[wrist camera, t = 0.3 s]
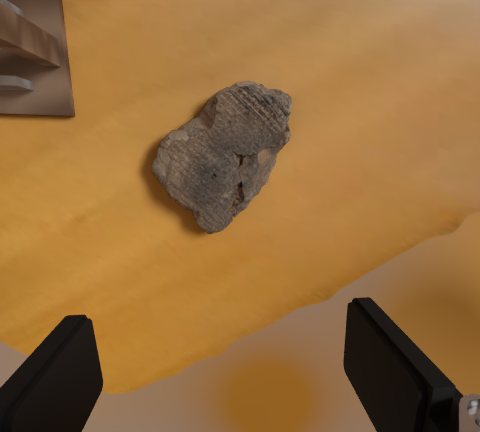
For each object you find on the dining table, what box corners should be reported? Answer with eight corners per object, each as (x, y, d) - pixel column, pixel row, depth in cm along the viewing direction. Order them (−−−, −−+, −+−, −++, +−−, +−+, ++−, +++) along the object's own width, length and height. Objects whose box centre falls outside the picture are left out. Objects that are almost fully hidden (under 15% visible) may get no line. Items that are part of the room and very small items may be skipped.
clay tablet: (246, 55, 36) (141, 165, 38) (251, 42, 31) (130, 169, 34) (314, 137, 39) (214, 234, 42) (328, 136, 35) (214, 245, 37)
